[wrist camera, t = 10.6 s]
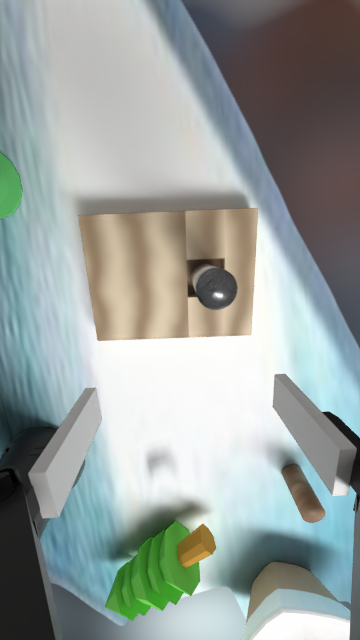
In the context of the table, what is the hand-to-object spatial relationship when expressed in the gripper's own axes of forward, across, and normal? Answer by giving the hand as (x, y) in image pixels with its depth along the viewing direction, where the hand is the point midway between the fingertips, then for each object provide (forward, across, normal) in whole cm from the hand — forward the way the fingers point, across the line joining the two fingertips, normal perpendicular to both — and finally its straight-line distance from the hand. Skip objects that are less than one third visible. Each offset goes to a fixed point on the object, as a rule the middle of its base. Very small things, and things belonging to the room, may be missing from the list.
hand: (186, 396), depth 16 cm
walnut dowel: (+21, +21, -35) cm, 46 cm away
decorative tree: (+22, -9, -54) cm, 59 cm away
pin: (+21, +4, +7) cm, 22 cm away
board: (+21, -1, +7) cm, 22 cm away
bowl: (+22, +21, -71) cm, 77 cm away
